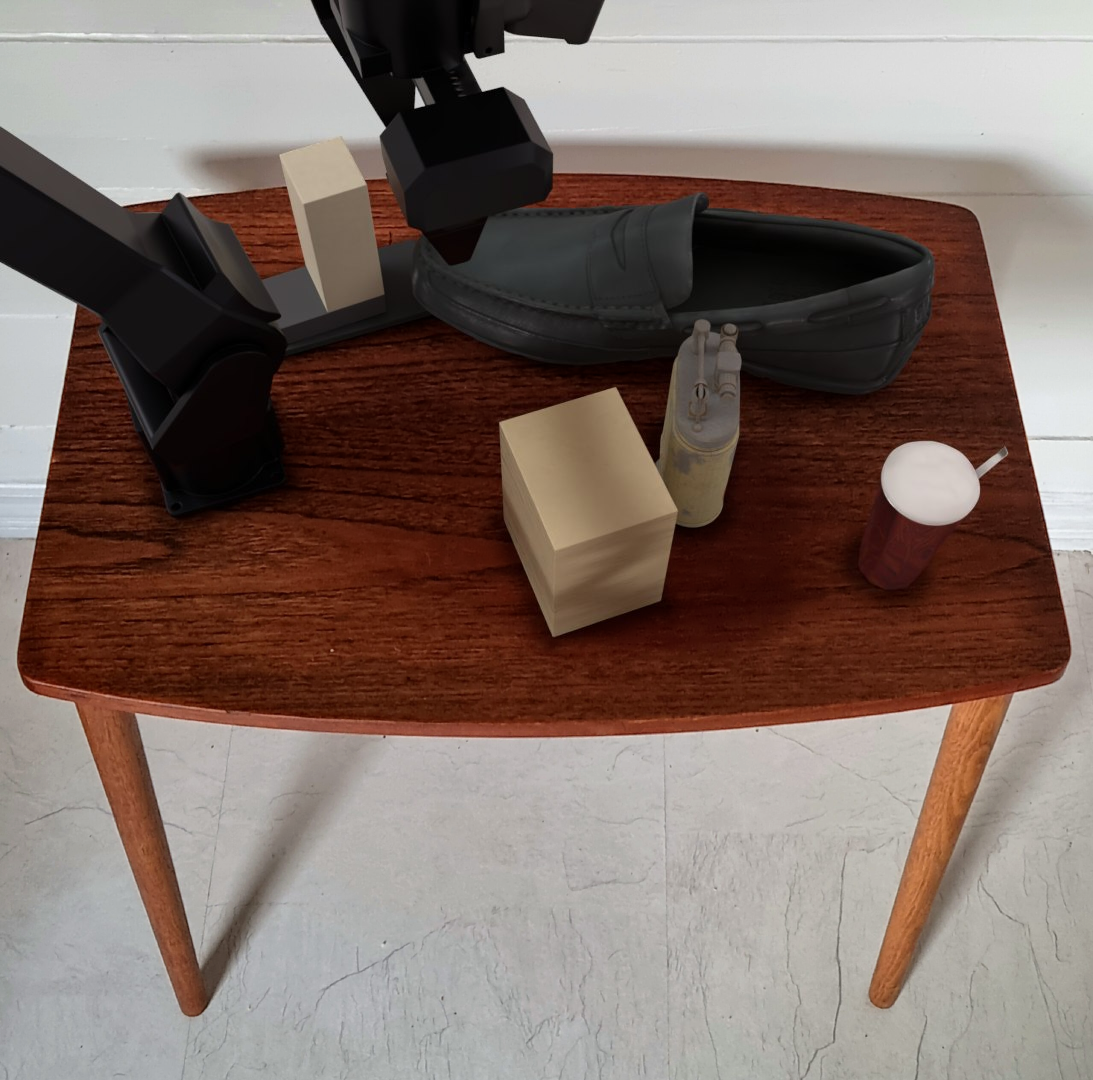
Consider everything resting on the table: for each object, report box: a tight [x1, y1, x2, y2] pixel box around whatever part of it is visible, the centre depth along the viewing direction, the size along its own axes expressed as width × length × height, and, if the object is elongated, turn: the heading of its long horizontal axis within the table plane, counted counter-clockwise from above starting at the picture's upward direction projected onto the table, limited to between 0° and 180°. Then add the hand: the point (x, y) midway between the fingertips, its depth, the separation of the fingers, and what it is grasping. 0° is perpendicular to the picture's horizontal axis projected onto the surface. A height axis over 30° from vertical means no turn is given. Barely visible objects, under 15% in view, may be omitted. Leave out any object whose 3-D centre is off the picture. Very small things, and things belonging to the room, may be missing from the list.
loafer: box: [410, 191, 936, 396], centre depth 68 cm, size 10×29×10 cm, turn 85°
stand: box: [498, 386, 678, 638], centre depth 60 cm, size 6×8×9 cm
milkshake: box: [858, 440, 1009, 591], centre depth 60 cm, size 4×5×10 cm
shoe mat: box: [262, 238, 434, 357], centre depth 73 cm, size 12×6×1 cm, turn 111°
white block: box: [261, 135, 387, 344], centre depth 68 cm, size 4×6×10 cm, turn 114°
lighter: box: [654, 319, 741, 528], centre depth 63 cm, size 7×4×10 cm, turn 176°
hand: (428, 195), depth 60 cm, fingers open, 9 cm apart
